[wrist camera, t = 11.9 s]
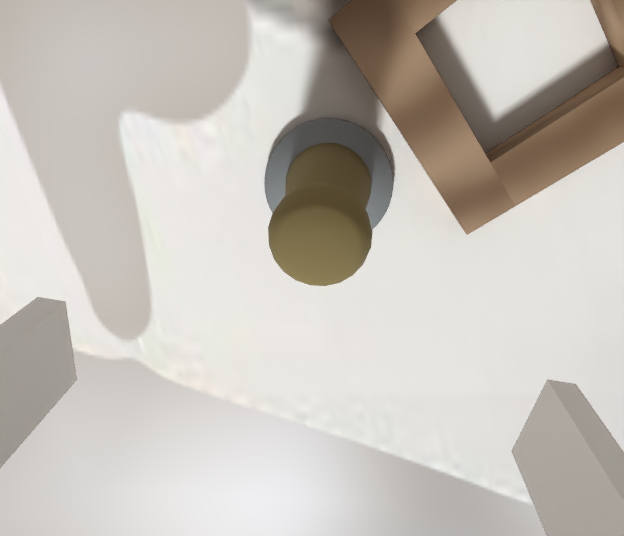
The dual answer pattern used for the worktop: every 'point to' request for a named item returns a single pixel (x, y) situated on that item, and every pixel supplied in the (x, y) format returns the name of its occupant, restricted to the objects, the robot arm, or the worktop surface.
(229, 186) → the worktop surface
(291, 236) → the cork
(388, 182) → the coaster
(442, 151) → the collar board
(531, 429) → the robot arm
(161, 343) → the worktop surface
